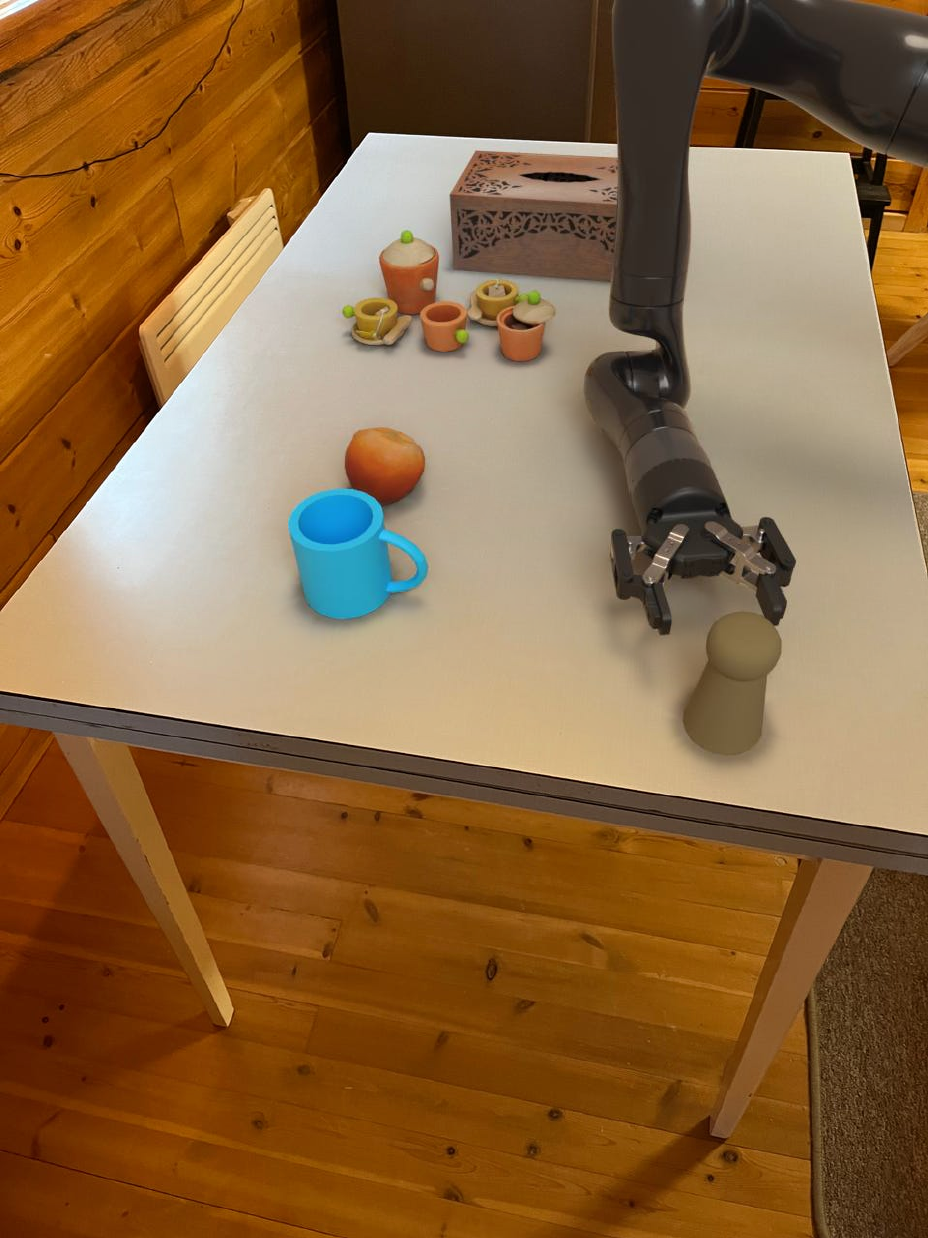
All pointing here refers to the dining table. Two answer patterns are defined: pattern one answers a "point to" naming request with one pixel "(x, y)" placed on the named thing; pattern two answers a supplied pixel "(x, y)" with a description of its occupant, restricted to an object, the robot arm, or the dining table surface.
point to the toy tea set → (446, 306)
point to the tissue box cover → (535, 215)
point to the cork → (733, 683)
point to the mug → (347, 553)
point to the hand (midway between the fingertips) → (721, 623)
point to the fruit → (384, 464)
